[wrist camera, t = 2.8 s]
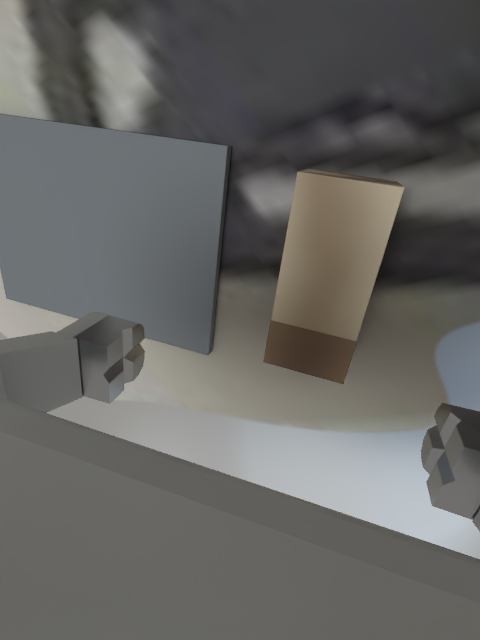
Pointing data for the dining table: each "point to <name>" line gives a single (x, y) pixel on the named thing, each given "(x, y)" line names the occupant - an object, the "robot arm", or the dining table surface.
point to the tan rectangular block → (329, 270)
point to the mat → (113, 225)
